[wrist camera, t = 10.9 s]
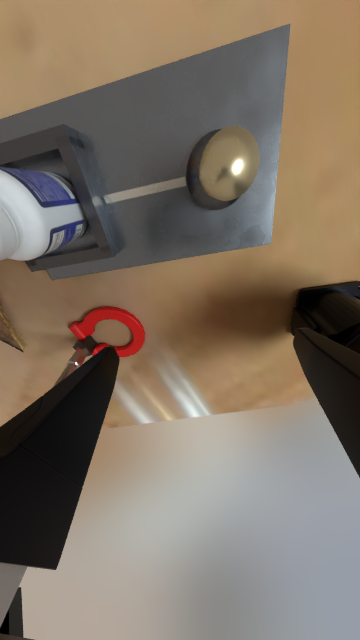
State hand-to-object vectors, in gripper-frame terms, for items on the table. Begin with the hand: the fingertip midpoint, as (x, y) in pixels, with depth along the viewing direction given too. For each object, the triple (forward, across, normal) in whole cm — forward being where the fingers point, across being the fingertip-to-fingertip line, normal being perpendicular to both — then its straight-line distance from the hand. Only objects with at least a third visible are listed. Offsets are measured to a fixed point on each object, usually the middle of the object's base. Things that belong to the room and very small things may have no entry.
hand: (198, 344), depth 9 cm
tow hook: (+13, +13, +8) cm, 20 cm away
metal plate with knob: (+13, +4, -7) cm, 15 cm away
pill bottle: (+12, +12, -7) cm, 18 cm away
